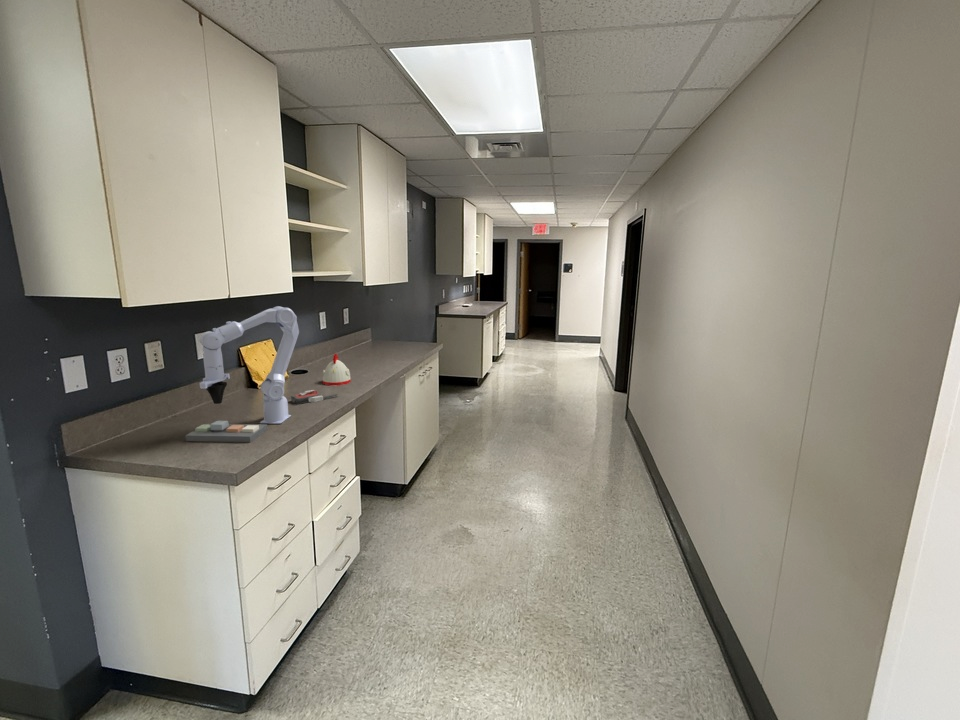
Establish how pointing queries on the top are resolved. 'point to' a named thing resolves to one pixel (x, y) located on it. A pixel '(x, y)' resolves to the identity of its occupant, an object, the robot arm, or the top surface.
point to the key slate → (219, 426)
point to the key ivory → (250, 428)
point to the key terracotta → (235, 428)
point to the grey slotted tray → (226, 435)
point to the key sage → (203, 428)
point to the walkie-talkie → (309, 397)
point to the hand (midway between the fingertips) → (217, 403)
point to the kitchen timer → (336, 373)
